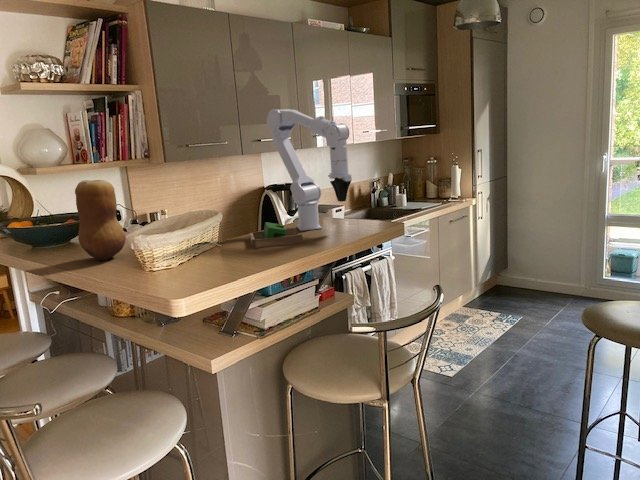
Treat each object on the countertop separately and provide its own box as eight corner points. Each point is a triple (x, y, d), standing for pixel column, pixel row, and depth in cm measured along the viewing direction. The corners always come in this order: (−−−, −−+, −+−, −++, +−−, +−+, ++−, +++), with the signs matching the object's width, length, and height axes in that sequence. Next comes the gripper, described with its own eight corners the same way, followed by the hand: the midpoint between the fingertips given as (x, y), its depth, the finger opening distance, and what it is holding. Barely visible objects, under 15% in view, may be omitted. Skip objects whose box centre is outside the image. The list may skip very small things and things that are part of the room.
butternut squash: (137, 254, 166) (125, 176, 160) (101, 265, 154) (87, 182, 149) (107, 252, 172) (95, 177, 167) (72, 263, 161) (57, 182, 156)
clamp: (281, 256, 168) (287, 233, 163) (263, 254, 166) (268, 230, 162) (280, 235, 178) (285, 213, 173) (262, 233, 176) (267, 211, 171)
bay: (250, 239, 176) (249, 232, 175) (296, 234, 179) (296, 227, 178) (252, 248, 162) (251, 240, 162) (302, 242, 165) (302, 234, 165)
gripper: (320, 161, 179) (323, 200, 181) (336, 162, 165) (339, 204, 168) (339, 159, 181) (341, 197, 184) (356, 160, 168) (358, 202, 170)
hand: (341, 201), depth 176 cm, fingers closed
